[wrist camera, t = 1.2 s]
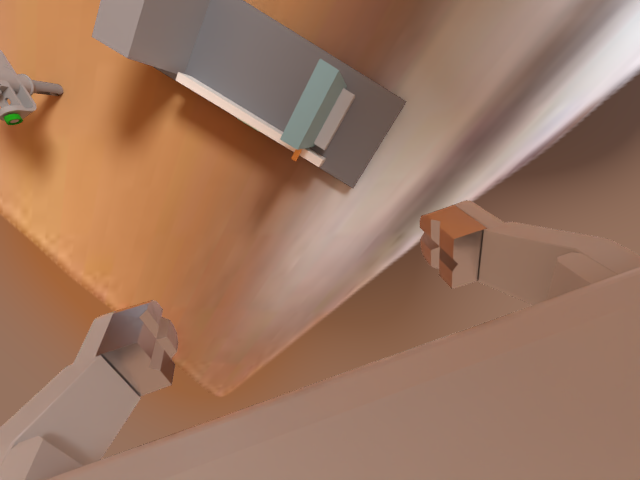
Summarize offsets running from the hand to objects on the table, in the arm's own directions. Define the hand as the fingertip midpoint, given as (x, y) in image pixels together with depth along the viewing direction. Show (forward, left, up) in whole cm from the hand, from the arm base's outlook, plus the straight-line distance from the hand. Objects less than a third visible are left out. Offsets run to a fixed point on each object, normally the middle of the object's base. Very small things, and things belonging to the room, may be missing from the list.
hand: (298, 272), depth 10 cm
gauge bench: (-4, -14, -35) cm, 38 cm away
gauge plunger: (-3, -7, -33) cm, 34 cm away
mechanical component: (+12, -42, -35) cm, 56 cm away
